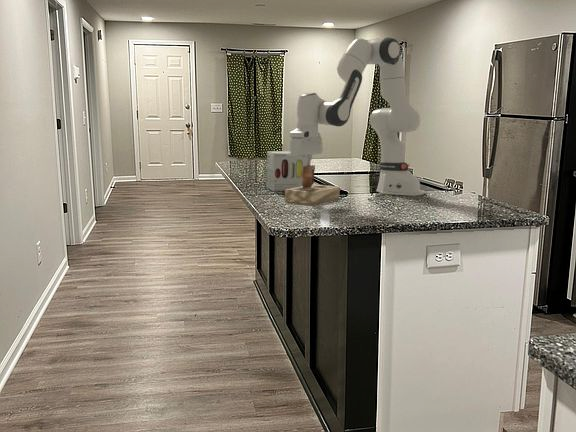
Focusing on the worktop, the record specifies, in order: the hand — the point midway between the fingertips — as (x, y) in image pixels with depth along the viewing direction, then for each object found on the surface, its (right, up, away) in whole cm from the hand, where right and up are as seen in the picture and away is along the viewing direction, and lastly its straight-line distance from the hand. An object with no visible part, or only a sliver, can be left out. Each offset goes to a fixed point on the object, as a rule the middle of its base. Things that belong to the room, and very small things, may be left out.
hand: (306, 165), depth 246 cm
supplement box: (-8, -8, +38) cm, 40 cm away
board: (+3, -14, +7) cm, 16 cm away
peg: (0, -14, +3) cm, 14 cm away
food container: (+1, -4, +58) cm, 58 cm away
